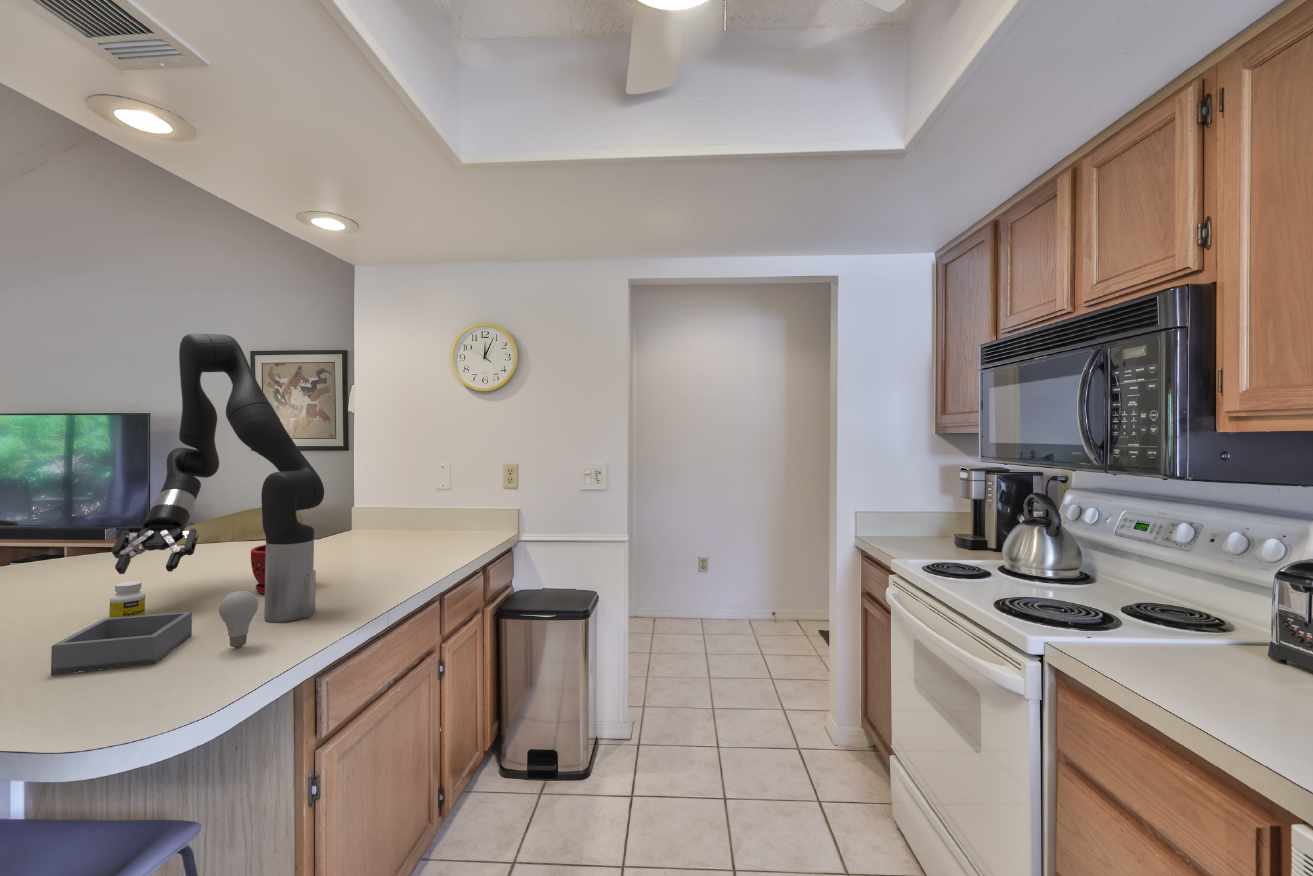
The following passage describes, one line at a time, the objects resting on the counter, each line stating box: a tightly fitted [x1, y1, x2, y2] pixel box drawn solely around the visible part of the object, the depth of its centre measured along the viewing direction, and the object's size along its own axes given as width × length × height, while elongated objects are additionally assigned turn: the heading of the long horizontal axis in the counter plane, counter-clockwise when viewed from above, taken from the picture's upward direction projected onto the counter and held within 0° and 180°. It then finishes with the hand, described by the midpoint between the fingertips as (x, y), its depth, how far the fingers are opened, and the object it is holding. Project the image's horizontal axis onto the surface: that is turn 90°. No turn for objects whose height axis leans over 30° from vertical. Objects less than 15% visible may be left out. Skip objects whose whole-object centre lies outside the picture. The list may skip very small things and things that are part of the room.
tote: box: [50, 611, 193, 676], centre depth 102 cm, size 14×15×5 cm
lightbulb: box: [218, 590, 259, 649], centre depth 106 cm, size 6×6×11 cm
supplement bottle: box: [108, 580, 146, 618], centre depth 115 cm, size 5×5×10 cm
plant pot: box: [250, 544, 266, 594], centre depth 147 cm, size 13×13×12 cm
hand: (144, 570), depth 121 cm, fingers open, 8 cm apart
